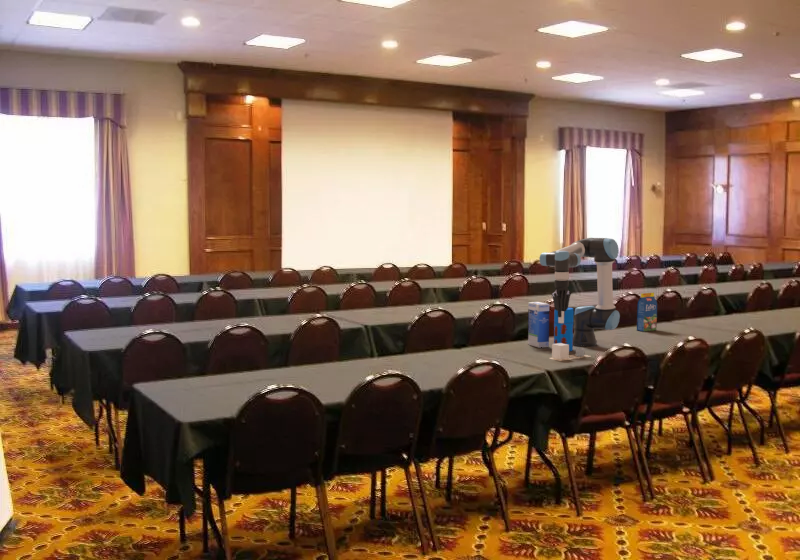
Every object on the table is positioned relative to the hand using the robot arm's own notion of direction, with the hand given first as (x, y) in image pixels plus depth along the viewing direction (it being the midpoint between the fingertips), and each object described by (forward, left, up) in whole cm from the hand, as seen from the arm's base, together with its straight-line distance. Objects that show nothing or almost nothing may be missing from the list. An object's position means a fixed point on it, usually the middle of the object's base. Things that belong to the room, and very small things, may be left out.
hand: (561, 322), depth 466 cm
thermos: (-20, -18, -21) cm, 34 cm away
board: (-7, +1, -21) cm, 22 cm away
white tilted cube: (0, 0, -20) cm, 20 cm away
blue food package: (-121, -43, -21) cm, 130 cm away
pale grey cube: (-14, +1, -20) cm, 24 cm away
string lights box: (-21, -40, -21) cm, 49 cm away
